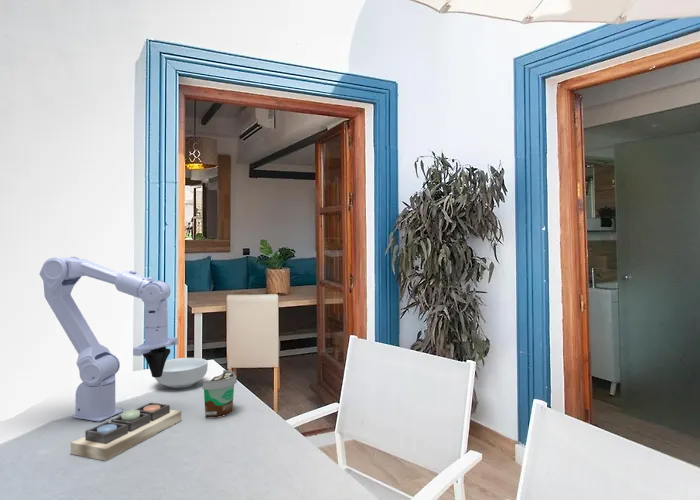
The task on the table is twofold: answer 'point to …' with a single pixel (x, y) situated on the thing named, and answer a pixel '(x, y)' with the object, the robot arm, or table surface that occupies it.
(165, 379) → the cereal bowl
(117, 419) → the button board
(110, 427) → the button blue
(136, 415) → the button sage
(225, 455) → the table surface
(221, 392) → the food container
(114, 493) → the table surface
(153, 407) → the button terracotta
